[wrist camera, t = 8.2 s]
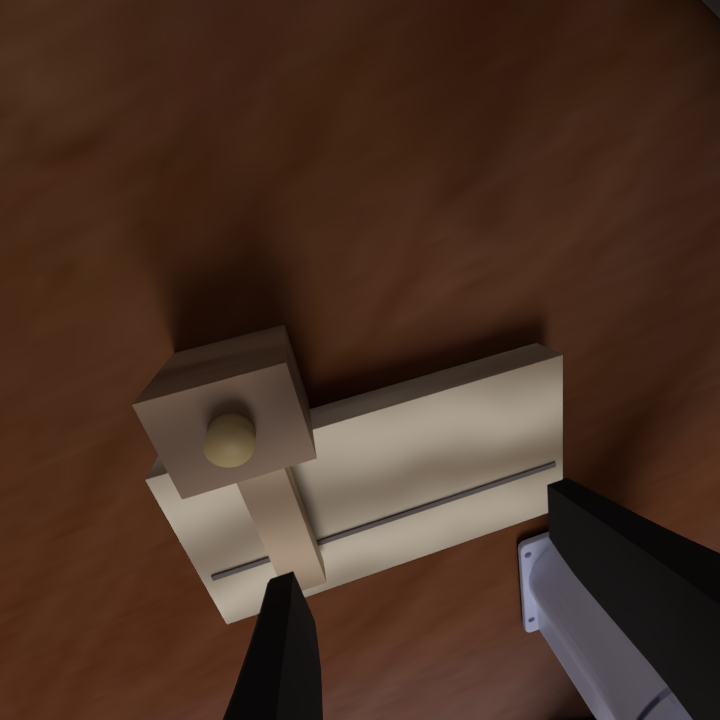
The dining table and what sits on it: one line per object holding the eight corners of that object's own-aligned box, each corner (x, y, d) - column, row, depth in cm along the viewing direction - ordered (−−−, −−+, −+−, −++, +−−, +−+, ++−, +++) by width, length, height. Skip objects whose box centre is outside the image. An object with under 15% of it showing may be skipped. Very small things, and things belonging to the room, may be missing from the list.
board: (540, 485, 24) (563, 508, 22) (231, 589, 21) (226, 626, 19) (536, 342, 20) (564, 355, 18) (159, 453, 18) (144, 481, 16)
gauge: (344, 516, 21) (365, 614, 16) (259, 544, 21) (252, 654, 15) (284, 323, 17) (286, 371, 11) (174, 353, 16) (122, 417, 11)
